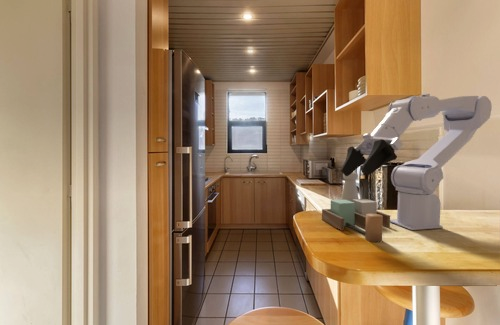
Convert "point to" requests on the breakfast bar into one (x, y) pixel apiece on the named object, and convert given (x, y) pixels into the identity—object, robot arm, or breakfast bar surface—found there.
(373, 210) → the grey block
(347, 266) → the breakfast bar surface
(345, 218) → the tethered block
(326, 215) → the walnut rack
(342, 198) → the salt shaker
